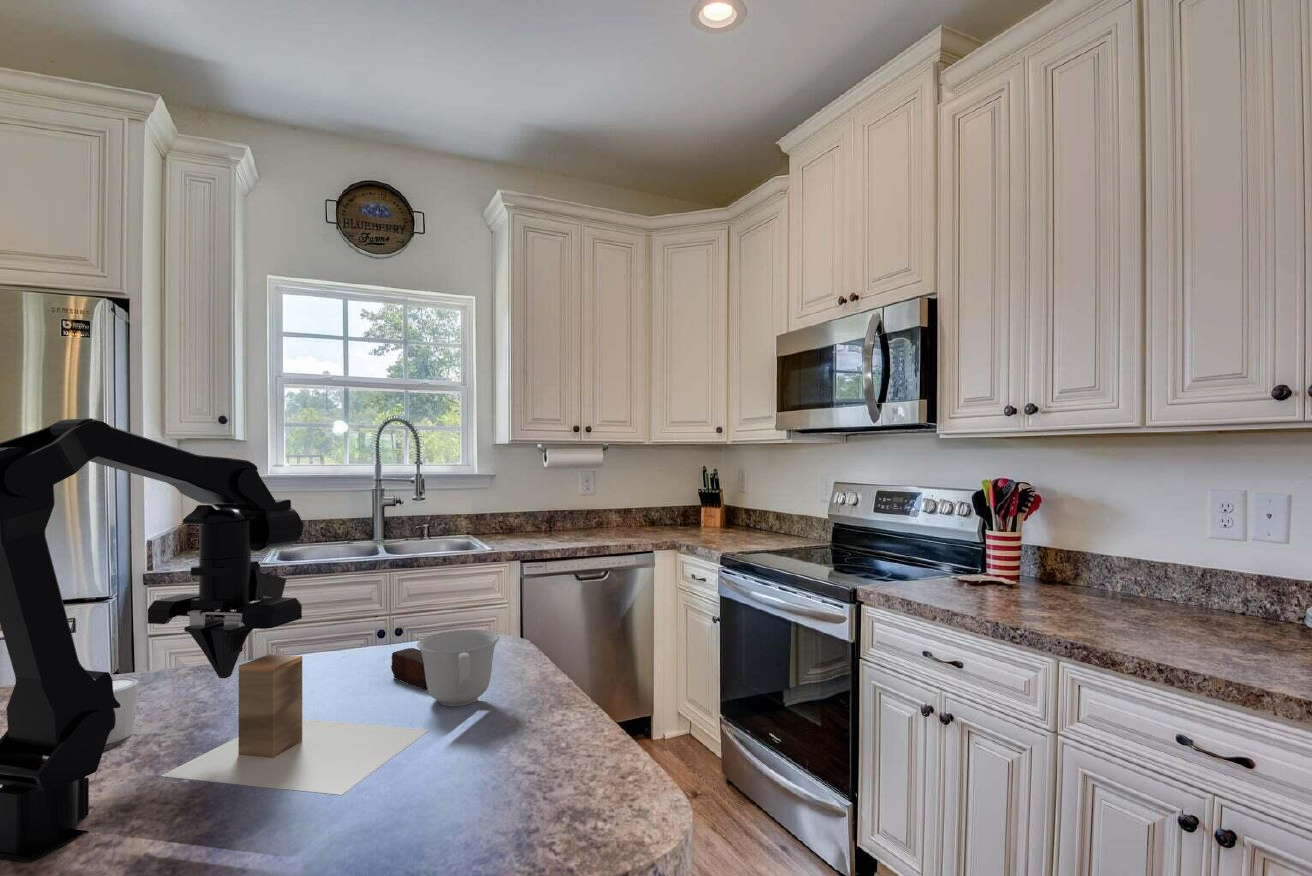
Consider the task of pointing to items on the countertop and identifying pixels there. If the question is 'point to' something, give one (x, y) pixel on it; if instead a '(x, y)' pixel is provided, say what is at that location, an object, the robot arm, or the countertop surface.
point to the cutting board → (306, 758)
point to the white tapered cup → (124, 708)
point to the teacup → (458, 664)
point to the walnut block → (270, 705)
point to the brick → (409, 667)
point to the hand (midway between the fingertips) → (225, 677)
